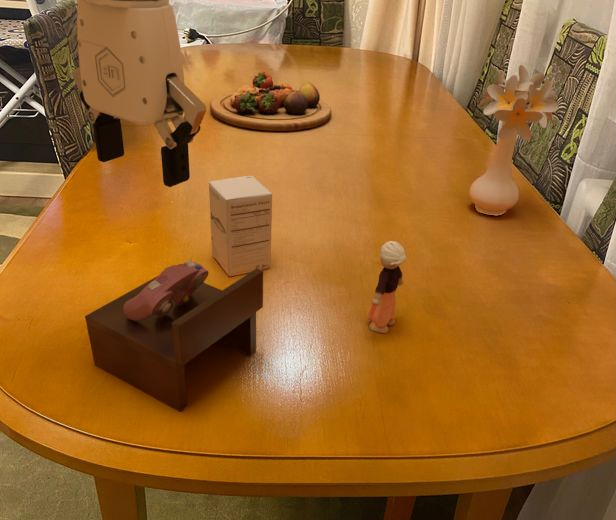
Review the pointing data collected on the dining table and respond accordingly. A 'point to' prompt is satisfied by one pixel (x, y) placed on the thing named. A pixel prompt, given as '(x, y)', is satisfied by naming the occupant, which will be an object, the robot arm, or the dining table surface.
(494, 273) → the dining table surface
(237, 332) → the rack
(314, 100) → the wooden plate
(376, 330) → the grandmother figurine
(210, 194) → the white packaging box
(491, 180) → the flower vase
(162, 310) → the pink toy car
